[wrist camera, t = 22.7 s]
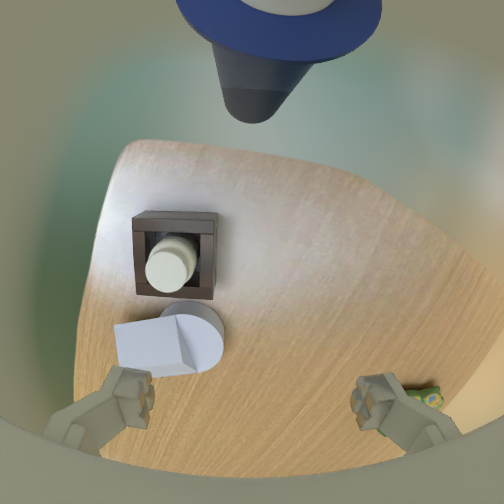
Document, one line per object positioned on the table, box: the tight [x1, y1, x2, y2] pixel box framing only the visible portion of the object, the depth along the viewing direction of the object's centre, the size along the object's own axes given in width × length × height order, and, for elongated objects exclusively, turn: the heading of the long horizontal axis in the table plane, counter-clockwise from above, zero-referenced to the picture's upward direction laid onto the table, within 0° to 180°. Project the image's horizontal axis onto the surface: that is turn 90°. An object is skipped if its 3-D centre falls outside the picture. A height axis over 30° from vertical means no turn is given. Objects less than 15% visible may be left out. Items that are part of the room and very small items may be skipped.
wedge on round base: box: [114, 301, 224, 378], centre depth 34 cm, size 9×7×13 cm
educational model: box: [376, 386, 444, 437], centre depth 42 cm, size 13×16×5 cm
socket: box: [132, 211, 217, 300], centre depth 31 cm, size 9×9×4 cm
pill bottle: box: [145, 232, 200, 293], centre depth 29 cm, size 5×5×8 cm
